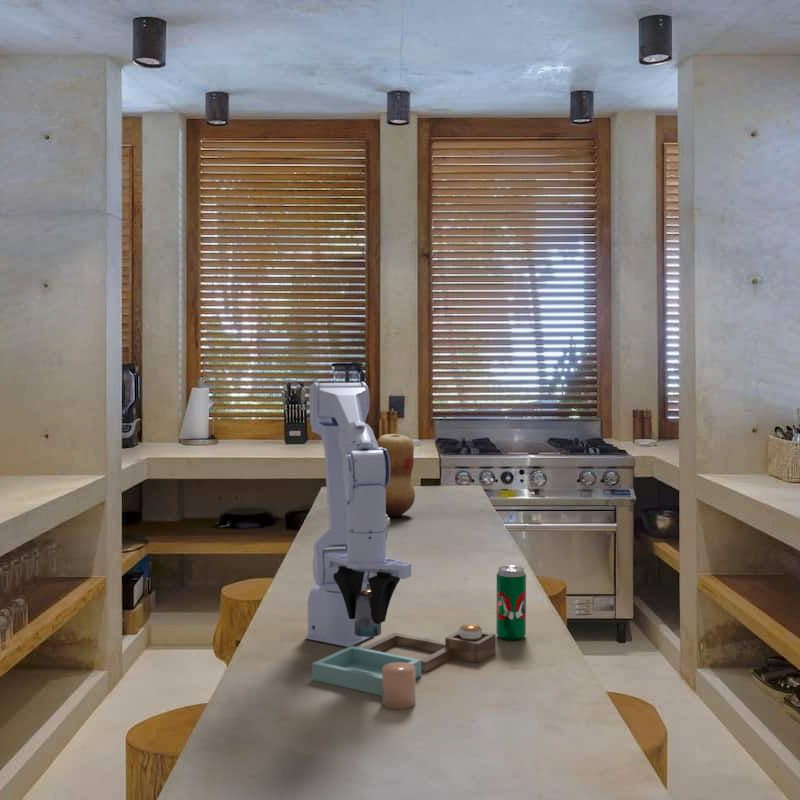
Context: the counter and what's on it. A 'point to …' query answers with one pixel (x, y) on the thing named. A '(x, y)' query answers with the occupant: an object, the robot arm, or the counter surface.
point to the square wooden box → (471, 647)
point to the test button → (470, 632)
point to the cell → (365, 615)
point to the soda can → (511, 603)
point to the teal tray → (358, 668)
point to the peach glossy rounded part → (398, 685)
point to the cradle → (416, 642)
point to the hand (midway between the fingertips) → (366, 619)
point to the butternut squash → (399, 473)
